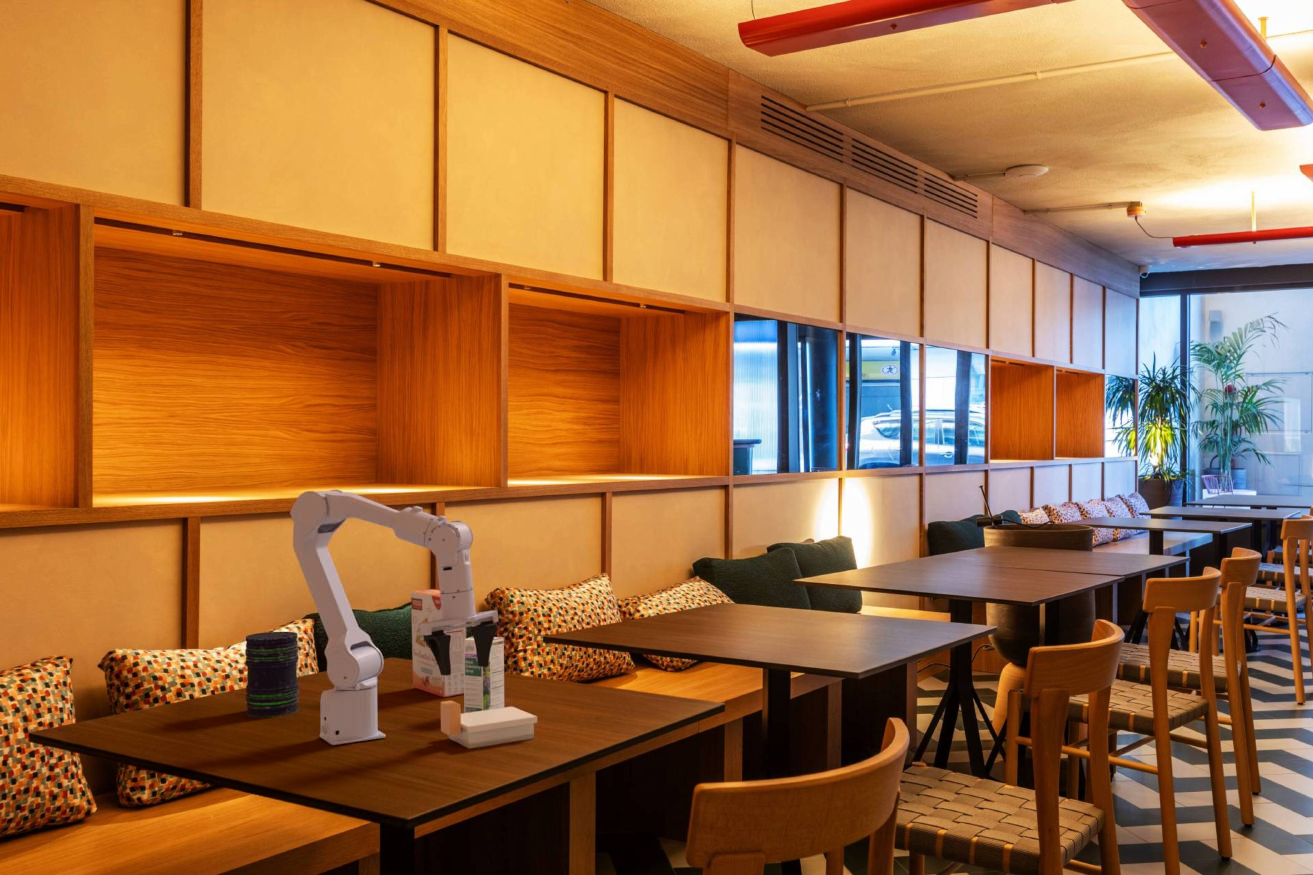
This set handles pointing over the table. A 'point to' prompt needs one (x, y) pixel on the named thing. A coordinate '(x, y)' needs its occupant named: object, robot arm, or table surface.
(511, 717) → the lid
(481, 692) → the syrup box
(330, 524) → the robot arm
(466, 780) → the table surface
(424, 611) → the cracker box
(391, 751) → the table surface
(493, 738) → the tub
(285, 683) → the storage jar
